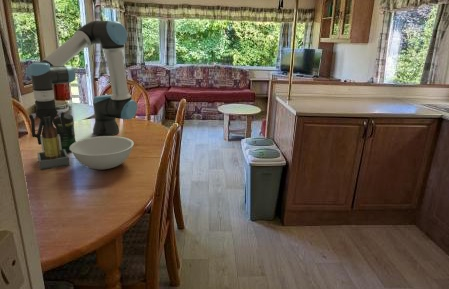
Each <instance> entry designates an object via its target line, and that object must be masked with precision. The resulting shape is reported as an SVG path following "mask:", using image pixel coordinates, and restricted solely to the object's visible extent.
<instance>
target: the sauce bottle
mask: <svg viewBox="0 0 449 289" xmlns="http://www.w3.org/2000/svg"><path fill="white" fill-rule="evenodd" d="M43 120H44V124H43V128H42V132H41V136H42V139H43V145H44V152H45V156H46V158H47V159H57V158H59V157H60V147H59V140H58V135H57V130H56V127H55V125H54V123H53V122H52V120H51V117H50V116H46V117H43Z"/></svg>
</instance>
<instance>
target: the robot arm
mask: <svg viewBox="0 0 449 289" xmlns="http://www.w3.org/2000/svg"><path fill="white" fill-rule="evenodd" d="M127 42H128V32H127V29H126V26H124V25H123V23H121V22H119V21H116V20H115V21H114V20H93V21H90V22H88V23H85V24H83V25H82V26H80V27H79V28H78V29H76V31H74V32H73V36H71V37H70V38H69V39H68V40H66V41H65V42H64V43H62V44H61V45H60V46H58V47H57V48H56V49H55V50H53V51H52V52H51V53H49V54H48V55H47V56H45V57H44V58H43V59H42V60H40V61H39V62H33V63H30V64H29V65H27V67H26V68H25V73H26V76H27V77H28V79H30V80H31V84H32V92H33V98H34V105H35V113H29V114H28V117H29V119H30V126H31V137H32V138H37V144H38V145H41V152H45V151H44V145H43V139H42V130H43V124H44V120H43V117H46V116H50V117H51V120H52V123H53V126H54V127H55V128H56V129H57V131H58V133H59V134H58V140H59V147H60V150H61V149H62V147H61V142H63V134H66V133H67V131H66V127H65V122H64V114H65V112H64V111H58V110H57V108H56V101H55V93H54V85H61V84H69V83H73V82H74V81H75V79H76V72H75V69H74V68H73V67H71V66H70V65H66V64H67V63H68V62H70V61H71V60H72V59H74V57H76V55H79V54H80V52H81V51H83V50H84V49H85V48H90V47H91V46H92V45H96V44H99V45H101V46H100V47H101V49H102V50H103V51H104V52H105V57H106V63H107V64H106V65H107V68H108V75H109V82H110V86H111V87H110V88H111V91H112V94H103V95H102V94H101V95H97V96H94V97H93V102H92V104H93V112H94V119H95V120H94V124H93V128H92V132H93V133H92V134H94V135H95V136H97V137H99V136H116V135H117V134H119V133H120V128H119V125H118V122H117V121H116V119H119V120H127V121H128V120H132V119H133V118H134V117H135V116H136V114H137V112H138V104H137V102H136V101H135V100H133V98H132V95H131V93H130V92H129V89H128V81H127V76H126V70H125V63H124V55H123V51H124V50H123V49H124V48H125V44H126V43H127ZM57 115H58V116H59V117H60V120H61V124H62V129H63V131H61V130H60V128H59V126H58V124H57V123H56V121H55V118H56V117H57ZM36 116H37V117H38V119H39V123H38V124H39V125H38V128H37V133H36V125H35V124H36V123H35V119H36Z"/></svg>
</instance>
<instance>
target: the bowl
mask: <svg viewBox="0 0 449 289" xmlns="http://www.w3.org/2000/svg"><path fill="white" fill-rule="evenodd" d="M134 144H135V142H134V141H133V140H132V139H130V138H128V137H124V136H116V135H110V136H92V137H88V138H87V137H86V138H83V139H80V140H77V141H76V142H75V143H73V144H72V145H71V146H70V147H69V149H70V151H72V155H73V157H74V158H75V160H77V161H78V162H79V163H80V164H81V165H83V166H84V167H86V168H88V169H92V170H109V169H113V168H115V167H119V166H120V165H122V164H123V163H124V162H125V161H126V160H127V159H128V157H129V156H130V155H131V151H132V148H133V146H134Z"/></svg>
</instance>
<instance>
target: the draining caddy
mask: <svg viewBox="0 0 449 289" xmlns="http://www.w3.org/2000/svg"><path fill="white" fill-rule="evenodd" d="M37 159H38V164H39V168H40V169H39V170H40V171H44V170H49V169H57V168H64V167H68V166H69V167H70V158H69V155H68V152H66V151H65V149H62V150H60V157H59V158H57V159H47V158H46V156H45V151H44V152H42V151H41V152H37Z"/></svg>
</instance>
